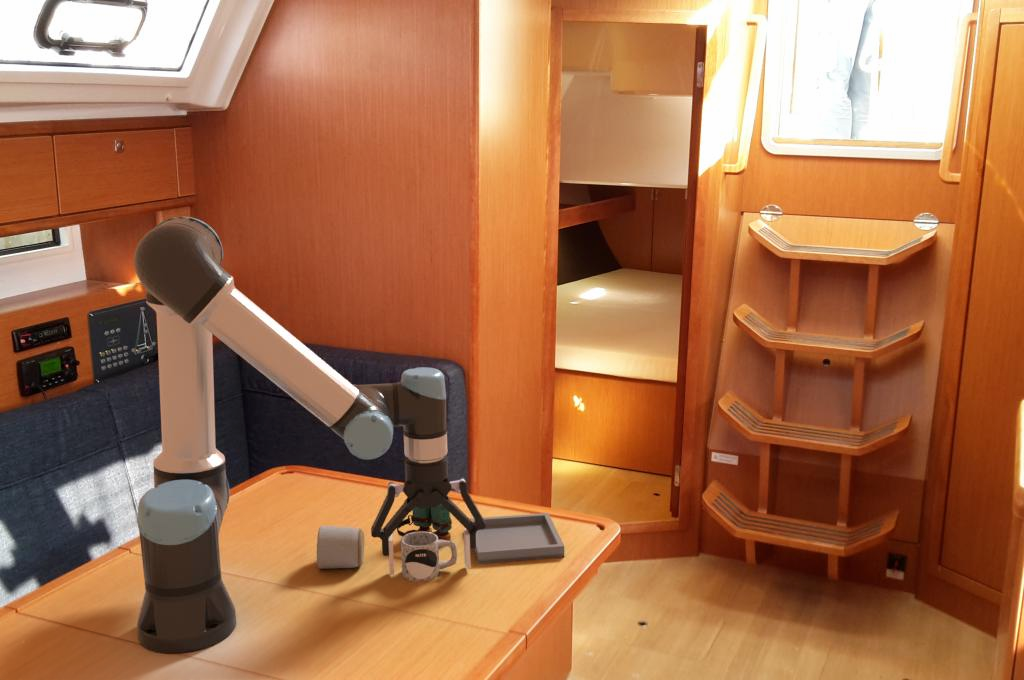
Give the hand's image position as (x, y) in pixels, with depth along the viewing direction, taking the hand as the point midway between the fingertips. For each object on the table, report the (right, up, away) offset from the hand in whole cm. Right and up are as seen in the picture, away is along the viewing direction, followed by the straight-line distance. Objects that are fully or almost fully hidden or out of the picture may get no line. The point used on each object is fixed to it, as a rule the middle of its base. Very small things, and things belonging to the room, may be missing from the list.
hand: (429, 568), depth 185 cm
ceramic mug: (-17, 0, +5) cm, 17 cm away
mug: (0, -1, 0) cm, 1 cm away
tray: (+15, +2, +12) cm, 20 cm away
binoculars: (-2, +2, +13) cm, 13 cm away
